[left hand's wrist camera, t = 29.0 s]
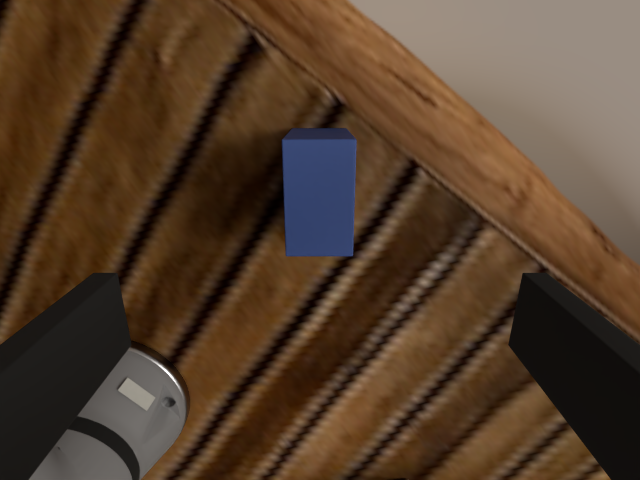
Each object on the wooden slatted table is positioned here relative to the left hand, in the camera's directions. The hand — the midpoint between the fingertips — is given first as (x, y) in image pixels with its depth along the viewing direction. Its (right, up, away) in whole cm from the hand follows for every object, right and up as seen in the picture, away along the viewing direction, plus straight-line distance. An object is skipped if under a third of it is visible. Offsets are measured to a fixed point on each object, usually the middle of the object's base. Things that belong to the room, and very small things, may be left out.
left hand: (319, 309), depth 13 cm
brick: (0, +8, +22) cm, 23 cm away
